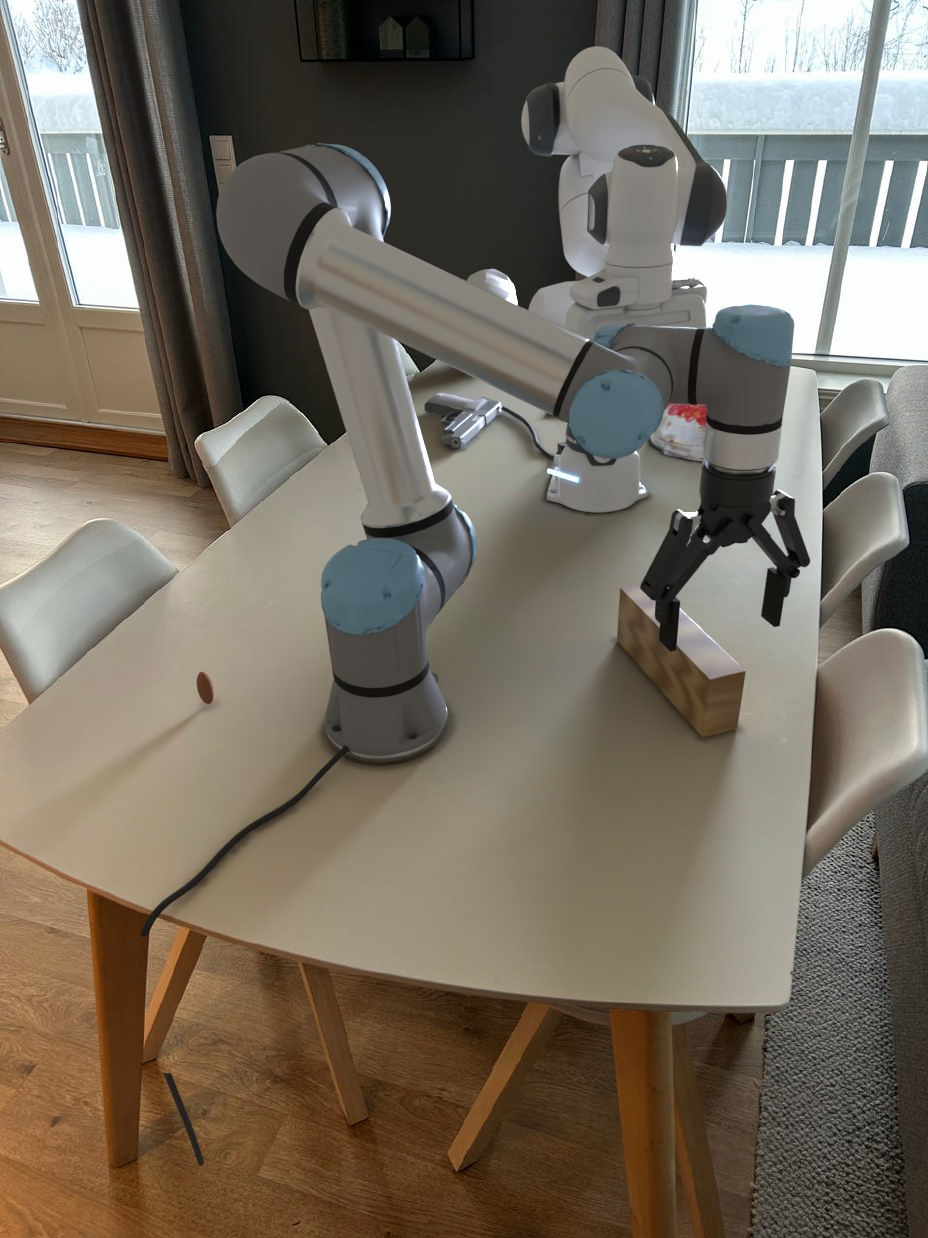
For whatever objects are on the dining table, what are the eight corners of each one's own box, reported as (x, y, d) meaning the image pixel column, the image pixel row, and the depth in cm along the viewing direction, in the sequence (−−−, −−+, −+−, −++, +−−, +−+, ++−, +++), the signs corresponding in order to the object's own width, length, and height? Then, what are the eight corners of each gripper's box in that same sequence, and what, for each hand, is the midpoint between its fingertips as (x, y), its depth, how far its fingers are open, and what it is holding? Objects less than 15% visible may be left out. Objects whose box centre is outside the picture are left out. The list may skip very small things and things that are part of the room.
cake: (776, 430, 195) (782, 384, 190) (740, 469, 178) (746, 420, 173) (674, 415, 206) (677, 371, 201) (630, 450, 189) (633, 403, 183)
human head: (525, 334, 255) (519, 254, 235) (516, 385, 243) (510, 305, 223) (470, 333, 258) (461, 254, 237) (459, 384, 246) (448, 305, 226)
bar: (737, 729, 110) (746, 671, 106) (702, 738, 109) (709, 679, 105) (647, 633, 129) (651, 581, 125) (616, 640, 128) (619, 587, 124)
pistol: (389, 443, 199) (464, 452, 193) (388, 426, 197) (463, 434, 191) (438, 404, 218) (507, 411, 212) (437, 388, 216) (507, 395, 209)
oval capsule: (219, 703, 119) (212, 671, 116) (206, 710, 118) (198, 678, 115) (211, 696, 120) (204, 665, 117) (198, 703, 119) (190, 672, 116)
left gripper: (818, 431, 101) (792, 597, 112) (614, 468, 95) (608, 639, 106) (863, 454, 94) (831, 626, 106) (648, 494, 89) (638, 673, 100)
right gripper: (695, 272, 125) (686, 371, 132) (558, 287, 120) (557, 390, 127) (720, 280, 120) (709, 383, 127) (578, 297, 115) (575, 403, 122)
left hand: (719, 633), depth 106 cm, fingers open, 13 cm apart
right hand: (632, 386), depth 127 cm, fingers open, 8 cm apart
